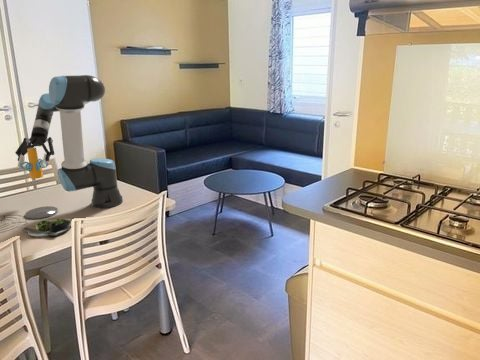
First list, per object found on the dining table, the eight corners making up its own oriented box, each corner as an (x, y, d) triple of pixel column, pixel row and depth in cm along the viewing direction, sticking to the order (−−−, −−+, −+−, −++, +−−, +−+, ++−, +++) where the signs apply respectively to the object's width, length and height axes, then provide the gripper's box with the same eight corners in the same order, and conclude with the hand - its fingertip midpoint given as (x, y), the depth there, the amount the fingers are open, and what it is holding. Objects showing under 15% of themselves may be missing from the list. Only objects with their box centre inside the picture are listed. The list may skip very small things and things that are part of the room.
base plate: (64, 210, 189) (63, 208, 189) (40, 221, 177) (39, 219, 176) (43, 206, 194) (43, 204, 194) (18, 216, 182) (18, 214, 182)
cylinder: (37, 181, 188) (32, 151, 183) (19, 180, 190) (13, 150, 185) (53, 174, 199) (48, 146, 195) (36, 173, 201) (31, 145, 197)
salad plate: (15, 241, 158) (12, 230, 157) (33, 223, 175) (31, 214, 174) (63, 238, 159) (61, 228, 158) (77, 221, 176) (75, 212, 175)
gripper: (66, 134, 204) (58, 169, 194) (21, 135, 203) (11, 171, 193) (60, 125, 197) (52, 162, 187) (14, 126, 197) (3, 163, 186)
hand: (31, 166), depth 190 cm, fingers closed on cylinder, 11 cm apart
